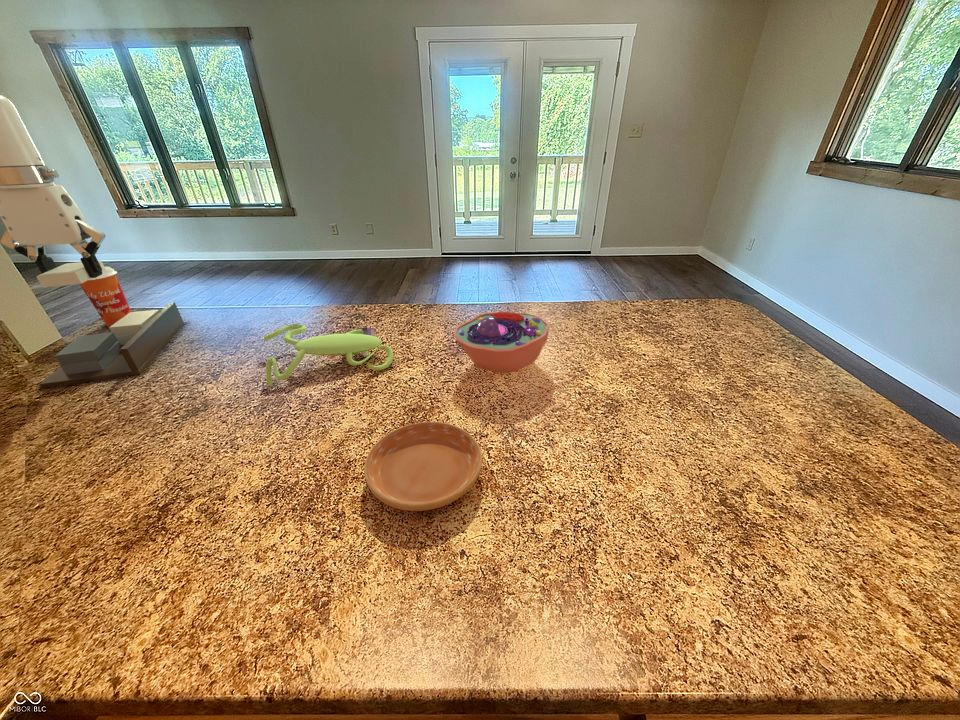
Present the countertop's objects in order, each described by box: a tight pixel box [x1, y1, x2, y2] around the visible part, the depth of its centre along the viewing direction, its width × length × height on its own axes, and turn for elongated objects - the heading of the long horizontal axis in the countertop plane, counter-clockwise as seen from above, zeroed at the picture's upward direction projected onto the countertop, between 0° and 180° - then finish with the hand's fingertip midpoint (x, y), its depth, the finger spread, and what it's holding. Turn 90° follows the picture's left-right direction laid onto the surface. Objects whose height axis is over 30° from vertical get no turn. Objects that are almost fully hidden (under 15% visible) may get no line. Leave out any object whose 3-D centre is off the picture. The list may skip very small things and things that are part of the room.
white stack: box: [108, 309, 161, 345], centre depth 89 cm, size 6×9×4 cm
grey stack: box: [54, 332, 122, 375], centre depth 78 cm, size 6×9×4 cm
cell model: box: [453, 310, 550, 374], centre depth 77 cm, size 17×20×11 cm
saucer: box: [363, 421, 483, 512], centre depth 53 cm, size 16×16×3 cm
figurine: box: [263, 323, 394, 387], centre depth 81 cm, size 18×27×6 cm
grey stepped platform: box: [38, 301, 185, 389], centre depth 84 cm, size 16×26×6 cm, turn 18°
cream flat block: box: [35, 259, 106, 289], centre depth 75 cm, size 6×9×2 cm, turn 17°
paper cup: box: [79, 266, 132, 328], centre depth 95 cm, size 8×8×14 cm
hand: (75, 276), depth 75 cm, fingers closed on cream flat block, 6 cm apart
